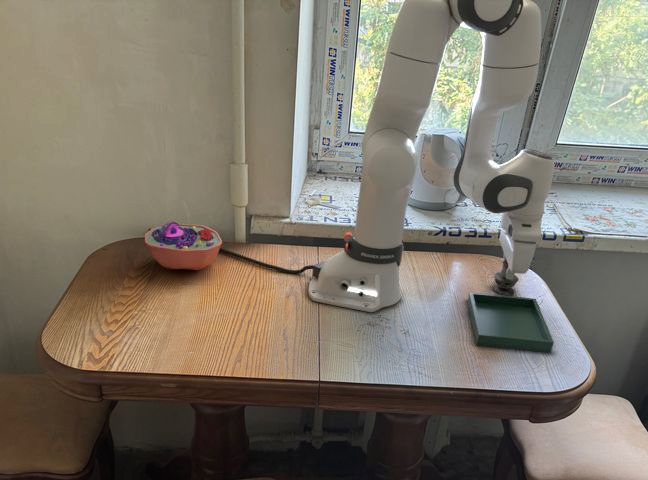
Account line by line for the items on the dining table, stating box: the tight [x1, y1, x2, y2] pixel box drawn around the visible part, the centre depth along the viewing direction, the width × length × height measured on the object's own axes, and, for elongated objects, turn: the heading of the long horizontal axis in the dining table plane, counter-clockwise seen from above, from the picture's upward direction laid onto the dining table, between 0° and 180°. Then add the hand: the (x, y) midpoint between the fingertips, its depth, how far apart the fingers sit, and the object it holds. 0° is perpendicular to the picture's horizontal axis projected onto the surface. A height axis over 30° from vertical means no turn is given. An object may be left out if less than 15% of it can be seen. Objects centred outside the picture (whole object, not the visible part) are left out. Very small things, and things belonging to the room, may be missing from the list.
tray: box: [466, 292, 555, 353], centre depth 135 cm, size 16×20×3 cm
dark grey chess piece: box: [492, 257, 520, 296], centre depth 148 cm, size 6×6×12 cm
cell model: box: [144, 221, 223, 271], centre depth 151 cm, size 17×20×11 cm
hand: (507, 274), depth 148 cm, fingers closed on dark grey chess piece, 3 cm apart
